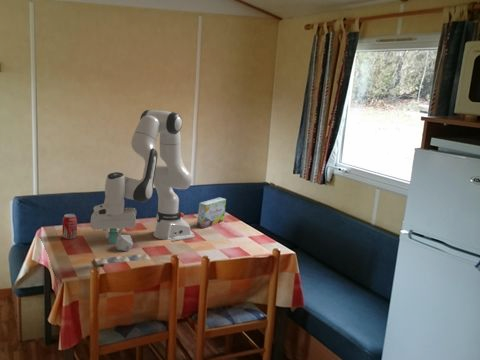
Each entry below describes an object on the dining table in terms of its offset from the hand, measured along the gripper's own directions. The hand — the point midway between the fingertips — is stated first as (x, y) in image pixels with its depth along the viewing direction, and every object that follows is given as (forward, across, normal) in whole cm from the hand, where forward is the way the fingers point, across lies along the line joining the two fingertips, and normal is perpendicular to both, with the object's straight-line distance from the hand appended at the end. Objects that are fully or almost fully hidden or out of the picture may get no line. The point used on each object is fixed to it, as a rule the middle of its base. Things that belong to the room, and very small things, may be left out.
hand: (112, 237), depth 217 cm
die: (+13, -8, -13) cm, 20 cm away
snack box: (+12, -69, -43) cm, 82 cm away
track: (+13, -5, 0) cm, 14 cm away
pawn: (+3, 0, 0) cm, 3 cm away
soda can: (+13, +14, -37) cm, 42 cm away
